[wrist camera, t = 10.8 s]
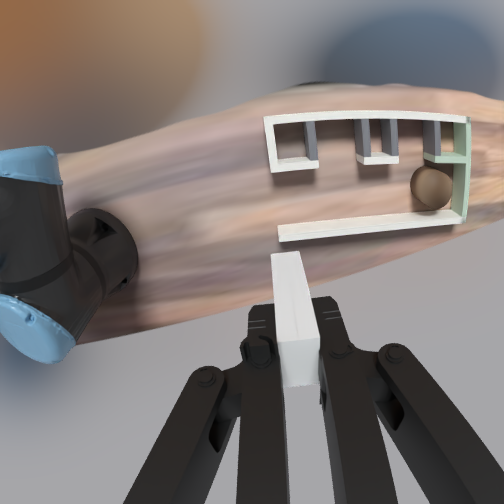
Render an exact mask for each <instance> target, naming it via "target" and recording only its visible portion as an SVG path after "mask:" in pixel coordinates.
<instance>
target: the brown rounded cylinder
mask: <svg viewBox="0 0 504 504" xmlns="http://www.w3.org/2000/svg"><path fill="white" fill-rule="evenodd" d="M410 187H411V191H412V193H413V195H414V196H415V197H416V198H417V199H418V200H420V201H421V202H423V203H424V204H426V205H427V206H428V207H430V208H432V209H440V208H442V207H444V206H445V205H446V204H447V203H448V202H449V200H450V198H451V195H452V182H451V180H450V178H449V177H448V176H447V175H446V174H445V173H443V172H441V171H438V170H436V169H434V168H432V167H429V166H422V167H420V168H418V169H417V170H416V171H415V172H414V174H413V175H412V178H411V182H410Z"/></svg>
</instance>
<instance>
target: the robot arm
mask: <svg viewBox="0 0 504 504" xmlns="http://www.w3.org/2000/svg"><path fill="white" fill-rule="evenodd" d="M62 185H63V181H62V180H61V177H60V172H59V165H58V158H57V154H56V153H55V151H54V150H53V149H52V148H51V147H48V146H34V147H25V148H17V149H10V150H3V151H0V332H1V333H2V335H3V336H4V337H5V338H6V339H7V340H8V341H9V342H10V343H11V344H12V345H13V346H14V347H15V348H17V349H18V350H19V351H20V352H22V353H23V354H25V355H26V356H28V357H30V358H32V359H34V360H36V361H38V362H42V363H45V364H55V363H59V362H60V361H61V360H63V359H64V357H65V356H66V355H67V353H68V352H69V351H70V349H71V348H73V347H74V346H75V344H76V342H77V340H78V338H79V337H80V335H81V334H82V332H83V330H84V329H85V327H86V326H87V324H88V322H89V321H90V319H91V318H92V316H93V315H94V313H95V312H96V310H97V309H98V307H99V305H100V304H101V303H102V301H103V300H105V299H106V298H108V297H110V296H112V295H113V294H115V293H117V292H119V291H120V290H122V289H123V288H124V287H125V286H126V285H127V284H128V283H129V281H130V280H131V278H132V277H133V275H134V273H135V271H136V268H137V262H138V257H137V250H136V246H135V243H134V240H133V238H132V236H131V234H130V233H129V231H128V230H127V228H126V227H125V226H124V225H123V224H122V223H121V222H120V221H119V220H118V219H117V218H116V217H114V216H113V215H111V214H110V213H108V212H105V211H103V210H99V209H93V208H90V209H84V210H81V211H79V212H77V213H76V214H74V215H73V216H71V217H70V218H69V219H68V220H67V217H66V211H65V204H64V197H63V189H62ZM271 263H272V276H273V290H274V304H264V305H254V306H253V307H252V309H251V310H250V312H249V314H248V315H249V316H248V335H247V337H246V338H245V339H244V340H243V341H242V342H241V345H240V351H241V355H242V359H243V361H242V362H241V363H240V364H238V365H237V366H235V367H233V368H230V369H227V370H224V371H221V370H220V369H219V368H217V367H214V366H204V367H201V368H199V369H197V370H195V371H194V372H193V373H192V374H191V376H190V377H189V379H188V381H187V383H186V385H185V387H184V389H183V391H182V392H181V395H180V397H179V398H178V400H177V402H176V404H175V406H174V408H173V410H172V412H171V413H170V415H169V417H168V419H167V421H166V423H165V425H164V427H163V429H162V430H161V432H160V434H159V436H158V438H157V440H156V442H155V444H154V446H153V448H152V450H151V452H150V453H149V455H148V457H147V459H146V461H145V463H144V465H143V467H142V468H141V470H140V472H139V474H138V476H137V478H136V480H135V482H134V484H133V486H132V488H131V489H130V491H129V493H128V495H127V497H126V499H125V501H124V503H123V504H204V503H205V500H206V498H207V495H208V493H209V490H210V488H211V485H212V483H213V480H214V478H215V475H216V473H217V470H218V468H219V465H220V462H221V460H222V457H223V454H224V452H225V449H226V446H227V444H228V441H229V438H230V436H231V433H232V430H233V428H234V425H235V422H236V419H237V417H240V416H241V417H240V436H239V455H238V476H237V496H236V504H290V494H289V473H288V454H287V438H286V420H285V404H284V393H283V388H285V387H294V386H303V385H312V384H319V381H320V404H322V409H323V416H324V422H325V429H326V436H327V443H328V450H329V458H330V465H331V473H332V481H333V489H334V498H335V504H398V501H397V496H396V491H395V486H394V482H393V477H392V473H391V469H390V464H389V460H388V456H387V452H386V448H385V444H384V440H383V436H382V433H381V429H380V425H379V421H378V418H377V415H378V417H379V419H380V420H381V422H382V424H383V425H384V427H385V429H386V430H387V432H388V433H389V435H390V437H391V438H392V440H393V442H394V443H395V445H396V447H397V448H398V450H399V452H400V453H401V455H402V457H403V458H404V460H405V462H406V463H407V465H408V467H409V468H410V470H411V472H412V473H413V475H414V477H415V478H416V480H417V482H418V483H419V485H420V487H421V489H422V491H423V492H424V494H425V496H426V497H427V499H428V501H429V503H430V504H504V471H503V470H502V468H501V467H500V466H499V464H498V463H497V461H496V460H495V458H494V457H493V456H492V454H491V453H490V451H489V450H488V449H487V447H486V446H485V444H484V443H483V442H482V440H481V439H480V438H479V436H478V435H477V434H476V432H475V431H474V430H473V428H472V427H471V426H470V424H469V423H468V422H467V420H466V419H465V418H464V416H463V415H462V414H461V413H460V411H459V410H458V409H457V407H456V406H455V405H454V404H453V402H452V401H451V400H450V399H449V398H448V396H447V395H446V394H445V392H444V391H443V390H442V389H441V387H440V386H439V385H438V384H437V382H436V381H435V380H434V379H433V377H432V376H431V375H430V374H429V373H428V372H427V370H426V369H425V368H424V367H423V365H422V364H421V363H420V362H419V361H418V359H417V358H416V357H415V356H414V355H413V354H412V352H411V351H410V350H409V349H408V348H407V347H405V346H404V345H401V344H398V343H391V344H386V345H385V346H383V347H381V349H380V350H379V352H372V351H363V350H361V349H358V348H356V347H355V346H354V344H352V343H351V342H350V340H349V337H348V334H347V331H346V328H345V325H344V322H343V319H342V317H341V313H340V311H339V308H338V305H337V302H336V301H335V300H334V299H333V298H332V297H330V296H326V297H318V298H311V297H310V293H309V288H308V284H307V280H306V276H305V272H304V268H303V265H302V261H301V257H300V253H299V251H293V252H285V253H276V254H271Z"/></svg>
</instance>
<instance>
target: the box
mask: <svg viewBox="0 0 504 504" xmlns="http://www.w3.org/2000/svg"><path fill="white" fill-rule="evenodd" d="M263 118H264V125H265V132H266V139H267V147H268V154H269V162H270V169H271V173H274V172H283V171H293V170H303V169H314V168H319V162H318V152H317V141H316V132H315V123H314V121H316V120H334V119H353V120H354V132H355V145H356V160H357V161H359V162H360V163H362V164H364V165H372V164H398V163H399V152H398V129H397V119H419V120H422V122H423V156H424V159H427V160H429V161H432V162H434V163H454V166H453V187H452V200H451V209H450V210H436V211H423V212H411V213H399V214H387V215H376V216H365V217H355V218H344V219H334V220H324V221H314V222H305V223H295V224H286V225H278V235H279V242H285V241H294V240H304V239H313V238H322V237H331V236H341V235H350V234H360V233H369V232H379V231H389V230H398V229H408V228H418V227H428V226H438V225H448V224H458V223H466V216H467V207H468V197H469V186H470V169H471V117H466V116H460V115H451V114H441V113H429V112H414V111H387V110H353V111H325V112H309V113H296V114H285V115H276V116H267V117H263ZM369 118H380V122H381V137H382V152H371V143H370V129H369ZM440 121H448V122H453V129H454V152H441V134H440ZM291 122H303V130H304V138H305V147H306V157H297V158H287V159H277V152H276V144H275V136H274V129H273V124H281V123H291Z"/></svg>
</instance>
